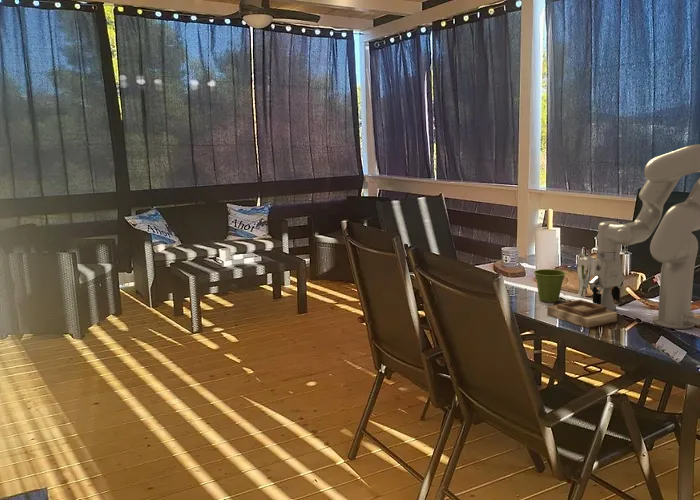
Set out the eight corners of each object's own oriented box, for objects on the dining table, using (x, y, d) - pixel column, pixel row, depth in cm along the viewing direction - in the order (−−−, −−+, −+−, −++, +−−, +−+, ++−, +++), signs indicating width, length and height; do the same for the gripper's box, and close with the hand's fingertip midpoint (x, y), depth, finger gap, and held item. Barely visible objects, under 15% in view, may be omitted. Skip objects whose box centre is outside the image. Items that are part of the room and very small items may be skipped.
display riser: (616, 321, 209) (617, 308, 209) (587, 327, 203) (588, 314, 202) (575, 309, 225) (575, 297, 224) (547, 314, 219) (547, 302, 218)
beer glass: (597, 296, 241) (599, 259, 238) (580, 297, 241) (581, 260, 238) (591, 292, 248) (592, 256, 245) (574, 292, 248) (575, 256, 245)
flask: (596, 311, 222) (597, 284, 220) (594, 306, 228) (595, 279, 227) (617, 312, 220) (619, 285, 218) (615, 307, 226) (616, 280, 225)
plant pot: (571, 303, 233) (572, 274, 231) (542, 305, 231) (543, 276, 229) (554, 295, 245) (555, 268, 243) (527, 297, 242) (528, 270, 240)
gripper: (600, 260, 213) (597, 307, 216) (633, 254, 221) (631, 300, 224) (582, 256, 220) (581, 302, 223) (616, 251, 228) (613, 296, 231)
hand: (606, 301), depth 224 cm, fingers open, 9 cm apart
